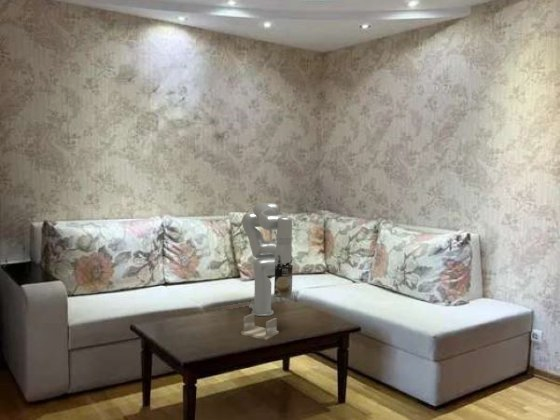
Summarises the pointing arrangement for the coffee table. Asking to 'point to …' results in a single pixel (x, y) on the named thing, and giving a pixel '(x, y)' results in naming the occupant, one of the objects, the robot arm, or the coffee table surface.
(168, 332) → the coffee table surface
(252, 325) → the book rack
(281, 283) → the coffee box
